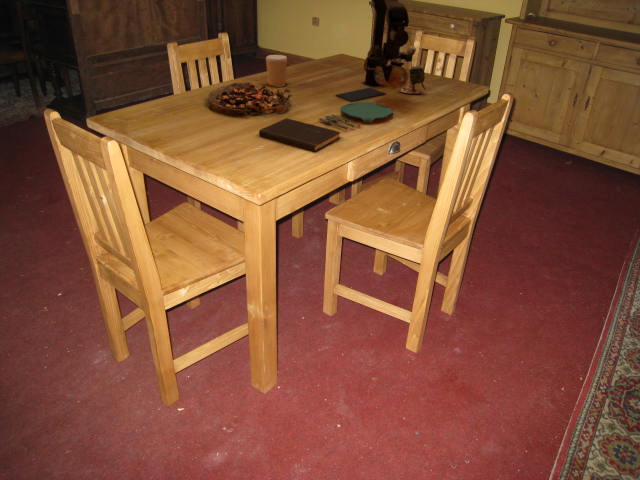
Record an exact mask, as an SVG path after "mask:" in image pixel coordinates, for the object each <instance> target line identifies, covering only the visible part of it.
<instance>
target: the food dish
mask: <svg viewBox="0 0 640 480" xmlns="http://www.w3.org/2000/svg"><path fill="white" fill-rule="evenodd" d="M256 85H261V87H260V88H259V87H256ZM268 86H269V87H272V88H273V86H274V89H272V90H271V91H270V89H268V87H267V83H261V82H254V84H253V82H240V83H238V82H233V83H229V84H227V85H224V86H220V87H218V88H215V89H213V90H212V91H211V92H209V93H208V97H207V99H206V101H207V103H206V105H207V108H209V109H211V110H213V111H215V112H219V113H222V114H226V115H229V116H241V117H242V116H251V117H256V116H266V115H271V114H284V113H285V112H286V111H287V108H288V107H289V106H290V103H289V102H290V101H291V99H290V98H291V97H292V96H293V94H291V92H292V91H291V89H288V88H285V89H284V91H283V90H281V91H280V89H276V88H280V87H279V86H278V85H271V84H269V85H268ZM286 93H288V95H287V97H286V96H285V94H286Z"/></svg>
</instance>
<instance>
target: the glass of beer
mask: <svg viewBox="0 0 640 480" xmlns="http://www.w3.org/2000/svg"><path fill="white" fill-rule="evenodd" d="M265 63H266V74H267V86H270V85H269V84H271V85H278V86H279V87H278V88H280V87H285V85H286V81H287V67H288V58H287V56H286V55H282V54H269V55H267V56H266V57H265ZM273 87H274V86H273ZM273 87H272V88H273ZM274 88H275V87H274Z"/></svg>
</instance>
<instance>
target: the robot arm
mask: <svg viewBox="0 0 640 480" xmlns="http://www.w3.org/2000/svg"><path fill="white" fill-rule="evenodd" d="M371 6H372V8H373V10H374V20H373V29H372V30H373V31H372V41H371V42H372V43H371V47H370V48H369V50H368V52H367V54H366V55H367V57H366V58H365V60H364V63H363V70H364V71H365V78H364V81H363V82H362V84H365V85H367V86H370V87H377V86H381V85H380V84H378V83H377V82H376V80H375V78H374V70H375V68H376V67H377V66H379V67H382V70H383V73H384V77H385V81H387V82H388V80H389V77H390V74H391V70H392V67H393V66H392V65H395V66H400V67H403V66H404V65H405V62H406V63H409V62H410V63H411V61H412V62H413V58H412V55H411V54H410V53H407V51H406V52H405V51H401V48H402V47H403V46H405V45H406V44H407V43H408V42H409V40H410V39H409V38H410V36H409V33H408V32H407V31H406V30H405V29H406V28H409V24H410V19H409V13H408V9H407V7H406V6H405V5H404V3H401V2H400V1H399V0H371ZM385 23H386V26H387V30H386V38H385V39H386V40H385V41H386V42H384V32H385ZM403 60H404V61H405V62H403Z"/></svg>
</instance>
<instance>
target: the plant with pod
mask: <svg viewBox="0 0 640 480" xmlns="http://www.w3.org/2000/svg"><path fill="white" fill-rule="evenodd" d="M416 51H417V48H416V47H414V46H413V45H410V46H409V47H408V49H407V51H406V53H410V54H411V55H412V59H413V56H414V55H415V53H416ZM424 69H425V68H424V66H422V65H417V66H413V60H412V61H410V68H409V83H410V84H407V83H406V85H405V86H406V87H405V86H404V87H401V89H399V92H401V93H406V94H414V95H415V94H416V95H419V94H420V93H421V90H420V89H416V87H415V86H416V85H419V84H421V86H422V88H423V89H424V90H425V91H426V87H425V85H424V82H425V78H426V76H425V70H424Z"/></svg>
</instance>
